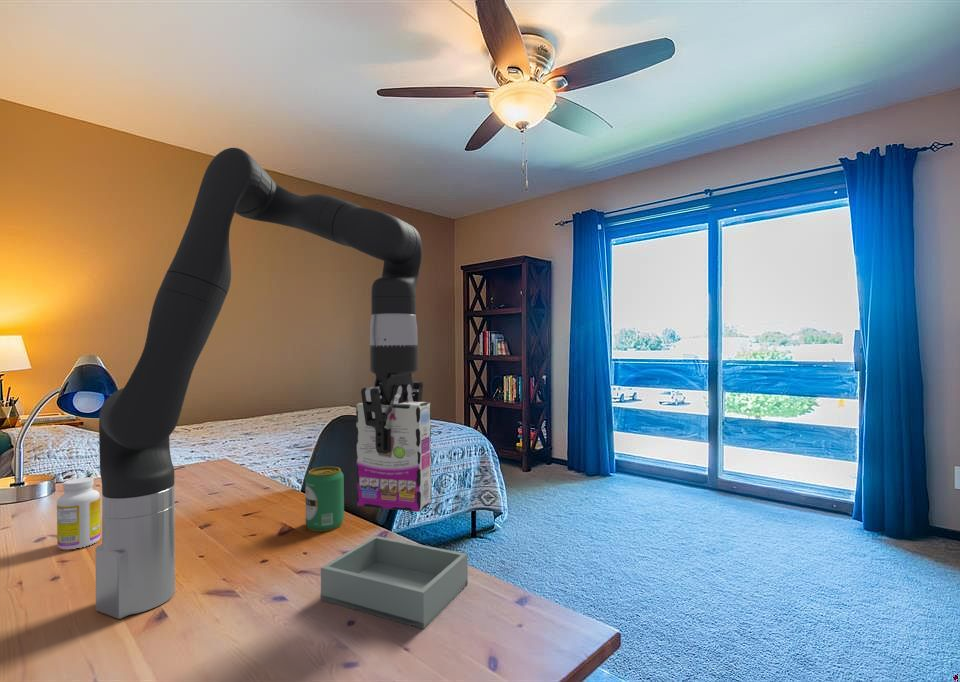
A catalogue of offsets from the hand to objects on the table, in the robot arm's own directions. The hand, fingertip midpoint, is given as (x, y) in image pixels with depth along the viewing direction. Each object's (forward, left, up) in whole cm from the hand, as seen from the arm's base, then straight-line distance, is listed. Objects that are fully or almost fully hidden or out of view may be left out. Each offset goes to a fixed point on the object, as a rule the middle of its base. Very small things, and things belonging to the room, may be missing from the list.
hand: (394, 448), depth 77 cm
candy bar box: (0, 0, -9) cm, 9 cm away
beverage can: (+17, +31, -23) cm, 42 cm away
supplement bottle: (-11, +69, -23) cm, 73 cm away
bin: (0, 0, -23) cm, 23 cm away
